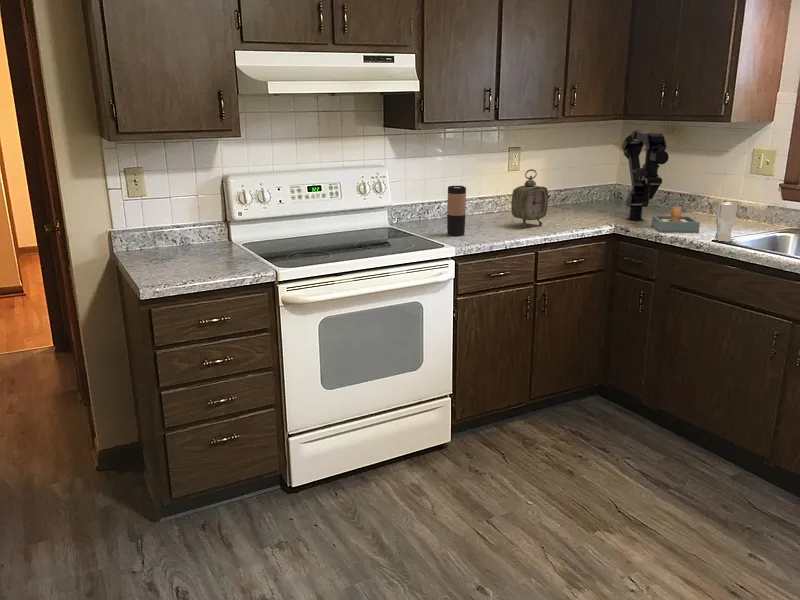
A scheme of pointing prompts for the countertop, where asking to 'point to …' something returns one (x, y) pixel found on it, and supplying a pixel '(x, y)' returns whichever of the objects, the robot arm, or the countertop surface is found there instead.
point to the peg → (675, 214)
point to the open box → (675, 224)
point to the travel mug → (456, 210)
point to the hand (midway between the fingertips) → (648, 197)
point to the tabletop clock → (529, 201)
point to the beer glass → (725, 220)
